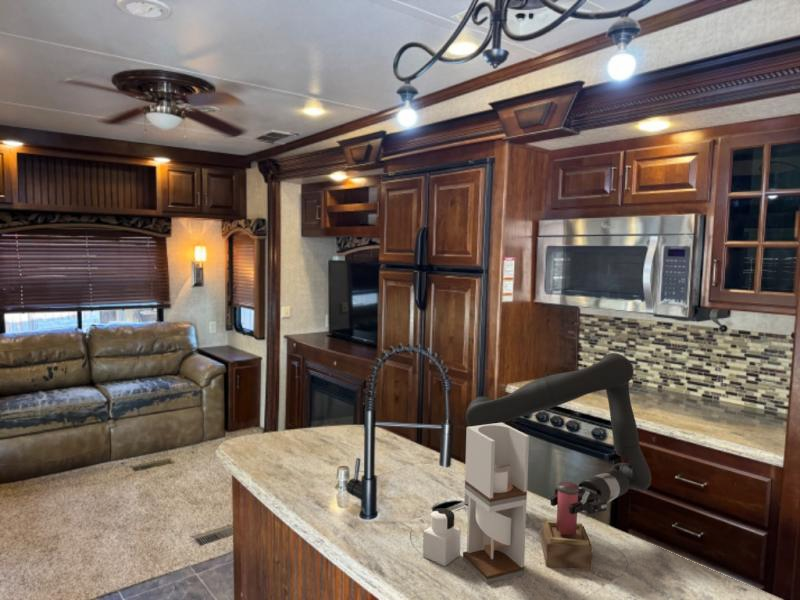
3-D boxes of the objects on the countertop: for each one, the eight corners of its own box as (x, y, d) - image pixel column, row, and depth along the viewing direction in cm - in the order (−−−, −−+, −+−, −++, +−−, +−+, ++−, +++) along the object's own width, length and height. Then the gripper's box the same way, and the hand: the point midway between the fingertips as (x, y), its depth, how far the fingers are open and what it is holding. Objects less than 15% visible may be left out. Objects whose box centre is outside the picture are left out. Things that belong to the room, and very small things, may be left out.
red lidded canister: (557, 534, 142) (559, 489, 141) (554, 524, 147) (556, 480, 146) (578, 535, 142) (580, 490, 141) (574, 526, 147) (576, 482, 146)
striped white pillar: (462, 559, 143) (466, 427, 140) (497, 551, 147) (502, 422, 144) (487, 584, 132) (491, 441, 129) (523, 574, 137) (529, 435, 134)
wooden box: (546, 566, 140) (547, 539, 140) (541, 544, 151) (542, 519, 151) (591, 570, 139) (592, 543, 138) (582, 547, 150) (583, 522, 149)
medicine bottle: (438, 546, 149) (439, 502, 148) (460, 555, 145) (461, 511, 144) (422, 556, 144) (423, 512, 143) (445, 567, 139) (446, 521, 138)
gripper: (577, 468, 158) (539, 482, 148) (624, 485, 147) (586, 502, 136) (576, 493, 159) (538, 509, 148) (622, 512, 147) (584, 531, 137)
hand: (561, 506), depth 142 cm, fingers open, 5 cm apart
